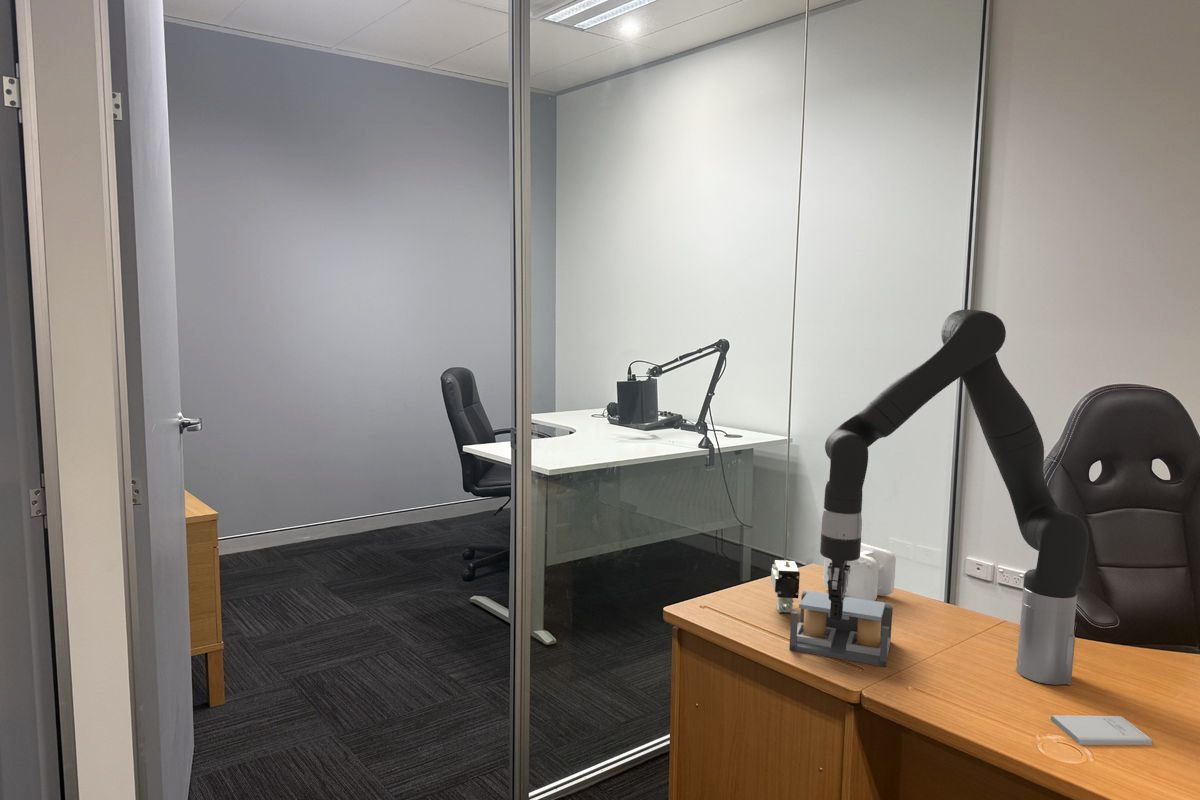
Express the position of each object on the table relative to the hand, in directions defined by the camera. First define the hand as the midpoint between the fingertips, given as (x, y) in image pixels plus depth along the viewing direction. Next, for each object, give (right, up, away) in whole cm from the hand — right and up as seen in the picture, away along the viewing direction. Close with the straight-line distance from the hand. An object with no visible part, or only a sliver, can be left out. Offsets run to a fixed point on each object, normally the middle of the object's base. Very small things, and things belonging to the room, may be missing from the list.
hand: (836, 618), depth 162 cm
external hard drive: (+39, -14, -22) cm, 47 cm away
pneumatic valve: (-4, -7, +31) cm, 32 cm away
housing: (+4, -9, +12) cm, 15 cm away
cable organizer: (+18, -6, +44) cm, 48 cm away
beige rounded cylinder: (+9, -8, +9) cm, 15 cm away
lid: (+4, -1, +10) cm, 11 cm away
